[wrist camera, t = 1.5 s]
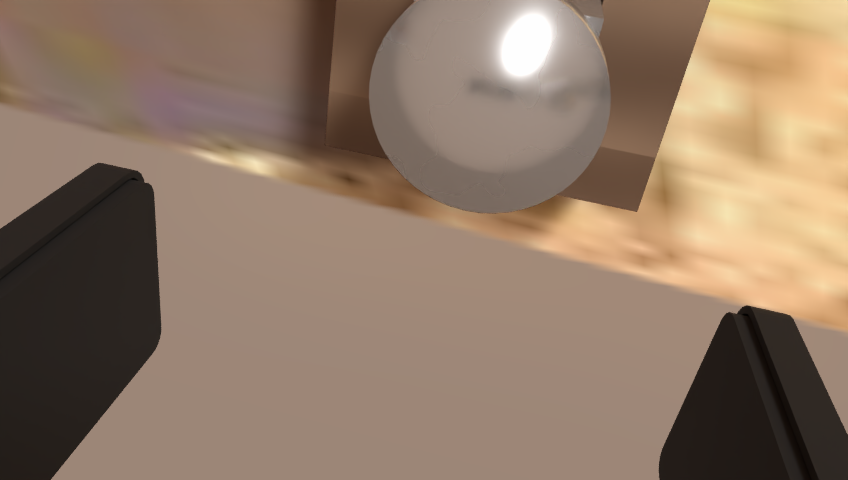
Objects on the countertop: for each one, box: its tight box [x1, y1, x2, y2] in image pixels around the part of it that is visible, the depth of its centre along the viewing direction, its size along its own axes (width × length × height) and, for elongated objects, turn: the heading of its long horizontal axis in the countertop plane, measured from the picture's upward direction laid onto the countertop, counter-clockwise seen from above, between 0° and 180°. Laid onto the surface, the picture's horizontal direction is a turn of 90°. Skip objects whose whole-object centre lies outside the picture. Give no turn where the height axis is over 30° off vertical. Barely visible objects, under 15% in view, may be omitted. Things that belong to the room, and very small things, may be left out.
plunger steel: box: [369, 0, 611, 213], centre depth 22 cm, size 6×6×7 cm
